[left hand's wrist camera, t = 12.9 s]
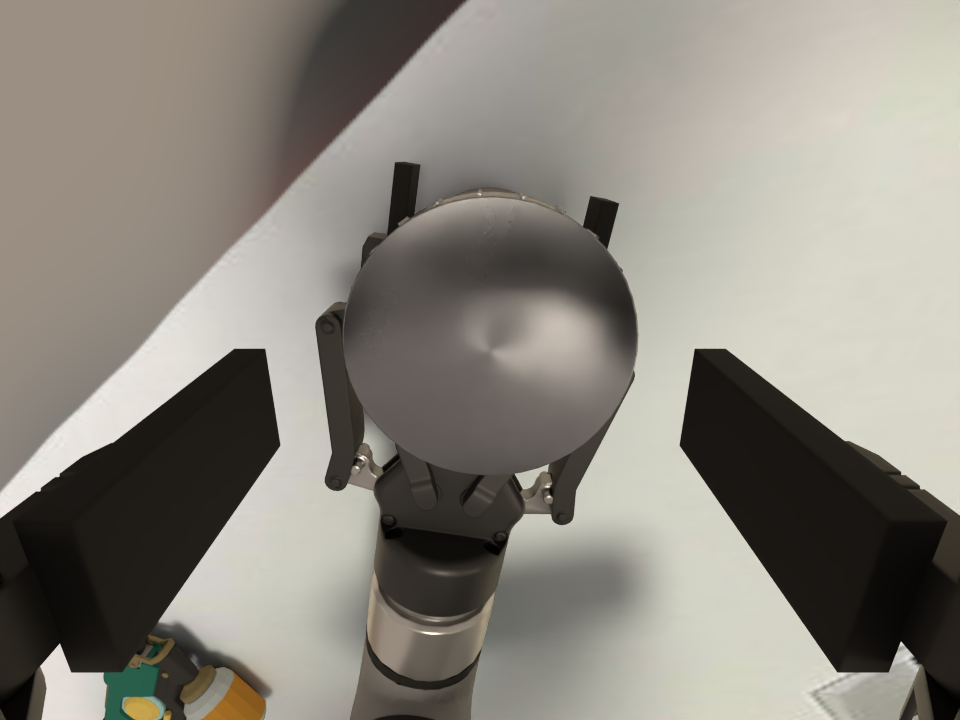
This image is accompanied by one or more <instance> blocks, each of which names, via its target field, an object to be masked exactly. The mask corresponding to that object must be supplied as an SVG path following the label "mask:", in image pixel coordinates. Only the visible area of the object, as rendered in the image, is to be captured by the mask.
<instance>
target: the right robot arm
mask: <svg viewBox="0 0 960 720" xmlns="http://www.w3.org/2000/svg"><path fill="white" fill-rule="evenodd" d="M419 171H420V165H419V164H413V163H408V162H395V167H394V177H393V186H392V196H391V205H390V214H389V224H388V233H387V235H386V234H380V233H373V234H371V235H370V236H368V238H367V240H366V242H365V244H364V246H363V250H362V261H361V269H362V267H363V265H364V264H365V262H366V260H367V259H368V257H369V256H370V254H369V253H370V251H372V250H373V249H374V248H375V247H377V246H378V245H379V244H380V243H381V242H382V241H383V240H384V239H385V238H386V237H387V236H388V235H390V234H391V233H392V232H393V231H394V230H395V229H396V228H397V227H399V225H398V223H399V222H401V221H402V220H403V219H405V218H406V217H407V216H408V217H409V218H411V217H412V216H414V212H415V203H416V195H417V187H418V179H419ZM618 206H619V203H616V202H613V201H611V200H608V199H604V198H598V197H593V196H590V200H589V204H588V208H587V212H586V216H585V221H584V225H583V227H584V228H585V229H586V230H587V229H589V230H590V231H591V232H593V233H594V234H596V235H597V236H598V237H599V239H598V241H599V242H600V243H601V244H602V245H603V246H605V248H606V249H607V248H608V244H609V241H610V237H611V233H612V229H613V225H614V221H615V217H616V214H617V210H618ZM346 305H347V303H344V302H336V303H334V304H333V305H332V306H331V307H329V308H328V309H327V310H326V311H325V312H324V313H323V314H322V315H321V316H320V317H319V318H318V319H317V321H316V326H315V328H316V336H317V343H318V351H319V358H320V365H321V373H322V380H323V388H324V395H325V403H326V410H327V418H328V425H329V433H330V440H331V448H332V455H331V459H330V462H329V466H328V469H327V473H326V476H325V484H326V486H327V487H328V488H329V489H331V490H334V491H340V490H343V489H344V488H345V487H346V485H347V483H349V484H352V485H356V486H359V487H363V488H366V489H370V490H373V491H374V495H375V498H376V500H377V502H378V504H379V507H380V520H379V528H378V536H377V543H376V551H375V559H374V572H373V576H372V582H371V591H370V600H369V608H368V617H367V626H366V639H365V646H364V652H363V658H362V664H361V670H360V676H359V682H358V687H357V691H356V696H355V700H354V704H353V708H352V712H351V716H350V720H471V701H472V692H473V686H474V681H475V675H476V670H477V666H478V661H479V656H480V653H481V649H482V645H483V642H484V638H485V635H486V631H487V627H488V623H489V619H490V615H491V611H492V607H493V603H494V597H495V590H496V587H497V585H498V580H499V576H500V572H501V568H502V564H503V559H504V555H505V551H506V547H507V543H508V539H509V535H510V531H511V529H512V528H513V526H514V525H515V524H516V523H517V522H518V521H519V520H520V519H521V518H522V516H523V514H551V516H552V520H553V521H554V522H555V523H556V524H559V525H566V524H568V523H570V522H571V521H572V520H573V516H574V506H575V495H576V489H577V487H578V485H579V484H580V482H581V480H582V478H583V476H584V474H585V472H586V470H587V468H588V466H589V464H590V463H591V461H592V459H593V457H594V455H595V453H596V451H597V449H598V447H599V445H600V443H601V442H602V440H603V438H604V436H605V434H606V432H607V430H608V428H609V426H610V424H611V422H612V421H613V419H614V417H615V415H616V413H617V411H618V409H619V407H620V405H621V403H622V401H623V400H624V398H625V396H626V394H627V392H628V390H629V388H630V386H631V384H632V382H633V380H634V377H635V373H634V371H633V374H632V377H631V379H630V382H629V385H628V388H627V390H626V392H625V394H624V396H623V398H622V400H621V402H620V404H619V405H618V407H617V408H616V410H615V411H614V413H613V414H612V415H611V417H610V418H609V419H608V421H607V422H606V423H605V424H604V425H603V426H602V427H601V429H600V430H599V431H598V432H597V433H596V434H595V435H593V436H592V437H591V438H590V439H589V440H588V441H587V442H586V443H584V444H583V445H581V446H580V447H579V448H577V449H576V450H574V451H573V452H571V453H570V454H568V455H566V456H564V457H562V458H560V459H559V460H557V461H555V462H552V463H550V464H549V468H548V472H545V471H544V472H541V473H540V475H539V477H537V479H536V481H535V483H534V485H533V486H532V487H531V488H529V489H525V490H523V489H522V487H521V485H520V483H519V481H518V479H517V478H516V476H515V473H514V474H507V475H489V476H486V475H473V474H466V473H460V472H455V471H451V470H448V469H444V468H441V467H438V466H435V465H433V464H430V463H428V462H426V461H424V460H421V459H419V458H418V457H416V456H414V455H412V454H411V453H409V452H407V451H406V450H404V449H403V448H401V447H400V446H399V445H398V444H396V443H395V444H396V448H397V451H398V453H397V454H396V455H395V456H394V457H393V458H392V459H391V460H390V461H388V462H387V463H386V464H385V465H384V466H383V467H382V468H381V467H379V466H377V465H376V464H375V463H374V461H373V453H372V451H371V449H370V446H369V445H368V444H366V443H363V438H364V416H363V406H362V404H361V402H360V401H359V399H358V397H357V395H356V393H355V390H354V388H353V386H352V384H351V381H350V378H349V374H348V371H347V368H346V363H345V357H344V350H343V323H344V315H345V309H346Z"/></svg>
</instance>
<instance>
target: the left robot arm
mask: <svg viewBox="0 0 960 720" xmlns="http://www.w3.org/2000/svg"><path fill="white" fill-rule="evenodd" d="M279 447H280V440H279V434H278V427H277V421H276V415H275V408H274V402H273V396H272V389H271V383H270V376H269V370H268V364H267V357H266V351H265V349H234V350H232V351H231V352H230V353H229V354H227V355H226V356H225V357H223V358H222V359H221V360H219V361H218V362H217V363H216V364H214V365H213V366H212V367H210V368H209V369H208V370H207V371H205V372H204V373H203V374H201V375H200V376H199V377H198V378H196V379H195V380H194V381H192V382H191V383H190V384H189V385H187V386H186V387H185V388H183V389H182V390H181V391H180V392H178V393H177V394H176V395H174V396H173V397H172V398H170V399H169V400H168V401H167V402H165V403H164V404H163V405H161V406H160V407H159V408H158V409H156V410H155V411H154V412H152V413H151V414H150V415H149V416H147V417H146V418H145V419H143V420H142V421H141V422H140V423H138V424H137V425H136V426H134V427H133V428H132V429H131V430H129V431H128V432H127V433H125V434H124V435H123V436H121V437H120V438H119V439H118V440H116V441H115V442H114V443H110V444H108V445H106V446H104V447H102V448H100V449H98V450H96V451H94V452H92V453H90V454H88V455H86V456H83V457H82V458H80V459H79V460H78V461H76V462H75V463H74V464H72V465H71V466H70V467H68V468H67V469H66V470H64V471H63V472H62V473H60V476H59V477H55V478H54V479H52V480H51V481H50V482H48V483H47V484H46V485H44V486H43V487H42V488H41V491H40V492H35V493H34V494H32V495H31V496H30V497H28V498H27V499H26V500H24V501H23V502H22V503H20V504H19V505H18V506H16V507H15V508H14V509H12V510H11V511H10V512H8V513H7V514H6V515H4V516H3V517H2V518H0V720H41V719H42V713H43V707H44V700H45V694H46V683H45V677H44V675H43V672H42V670H41V668H40V666H41V664H42V663H43V662H44V661H45V660H46V659H47V657H48V656H49V655H50V654H51V653H52V652H53V651H54V649H55V648H56V647H57V646H58V645H59V644H60V645H61V647H62V650H63V652H64V655H65V657H66V660H67V662H68V665H69V667H70V670H71V672H123V671H124V670H125V668H126V667H127V665H128V664H129V662H130V661H131V660H132V658H133V657H134V655H135V654H136V652H137V651H138V649H139V648H140V647H141V645H142V644H143V642H144V641H145V639H146V638H147V637H148V635H149V634H150V632H151V631H152V629H153V628H154V626H155V625H156V624H157V622H158V621H159V619H160V618H161V616H162V615H163V614H164V612H165V611H166V609H167V608H168V606H169V605H170V603H171V602H172V601H173V599H174V598H175V596H176V595H177V593H178V592H179V591H180V589H181V588H182V586H183V585H184V583H185V582H186V580H187V579H188V578H189V576H190V575H191V573H192V572H193V570H194V569H195V568H196V566H197V565H198V563H199V562H200V560H201V559H202V557H203V556H204V555H205V553H206V552H207V550H208V549H209V547H210V546H211V545H212V543H213V542H214V540H215V539H216V537H217V536H218V534H219V533H220V532H221V530H222V529H223V527H224V526H225V524H226V523H227V521H228V520H229V519H230V517H231V516H232V514H233V513H234V511H235V510H236V509H237V507H238V506H239V504H240V503H241V501H242V500H243V498H244V497H245V496H246V494H247V493H248V491H249V490H250V488H251V487H252V486H253V484H254V483H255V481H256V480H257V478H258V477H259V475H260V474H261V473H262V471H263V470H264V468H265V467H266V465H267V464H268V463H269V461H270V460H271V458H272V457H273V455H274V454H275V452H276V451H277V450H278V448H279ZM680 447H681V448H682V450H683V451H684V452H685V454H686V455H687V457H688V458H689V460H690V461H691V463H692V464H693V465H694V467H695V468H696V470H697V471H698V473H699V474H700V475H701V477H702V478H703V480H704V481H705V483H706V484H707V486H708V487H709V488H710V490H711V491H712V493H713V494H714V496H715V497H716V498H717V500H718V501H719V503H720V504H721V506H722V507H723V509H724V510H725V511H726V513H727V514H728V516H729V517H730V519H731V520H732V521H733V523H734V524H735V526H736V527H737V529H738V530H739V532H740V533H741V534H742V536H743V537H744V539H745V540H746V542H747V543H748V545H749V546H750V547H751V549H752V550H753V552H754V553H755V555H756V556H757V557H758V559H759V560H760V562H761V563H762V565H763V566H764V568H765V569H766V570H767V572H768V573H769V575H770V576H771V578H772V579H773V580H774V582H775V583H776V585H777V586H778V588H779V589H780V591H781V592H782V593H783V595H784V596H785V598H786V599H787V601H788V602H789V603H790V605H791V606H792V608H793V609H794V611H795V612H796V614H797V615H798V616H799V618H800V619H801V621H802V622H803V624H804V625H805V626H806V628H807V629H808V631H809V632H810V634H811V635H812V637H813V638H814V639H815V641H816V642H817V644H818V645H819V647H820V648H821V649H822V651H823V652H824V654H825V655H826V657H827V658H828V660H829V661H830V662H831V664H832V665H833V667H834V668H835V670H836V671H837V672H889V670H890V667H891V665H892V662H893V660H894V657H895V655H896V652H897V650H898V647H899V645H900V642H902V643H903V644H904V645H905V646H906V647H907V649H908V650H909V651H910V652H911V653H912V654H913V655H914V657H915V658H916V659H917V660H918V661H919V662H920V663H921V665H920V668H919V670H918V672H917V675H916V677H915V680H914V682H913V684H912V687H911V689H910V691H909V694H908V696H907V699H906V701H905V703H904V706H903V708H902V711H901V713H900V718H899V720H912V718H913V716H916V715H918V717H919V720H960V515H958V514H957V513H956V512H954V511H953V510H952V509H950V508H949V507H947V506H946V505H945V504H943V503H942V502H941V501H939V500H938V499H937V498H935V497H934V496H933V495H931V494H930V493H929V492H927V491H926V490H921V489H920V486H919V485H918V484H917V483H915V482H914V481H913V480H911V479H910V478H909V477H907V476H906V475H901V472H900V471H899V470H898V469H896V468H895V467H894V466H892V465H891V464H890V463H888V462H887V461H886V460H884V459H883V458H882V457H880V456H879V455H877V454H875V453H873V452H871V451H869V450H867V449H864V448H862V447H860V446H858V445H856V444H854V443H852V442H850V441H844V440H842V439H841V438H840V437H839V436H837V435H836V434H835V433H833V432H832V431H831V430H829V429H828V428H827V427H826V426H824V425H823V424H822V423H820V422H819V421H818V420H817V419H815V418H814V417H813V416H811V415H810V414H809V413H808V412H806V411H805V410H804V409H802V408H801V407H800V406H799V405H797V404H796V403H795V402H793V401H792V400H791V399H790V398H788V397H787V396H786V395H784V394H783V393H782V392H780V391H779V390H778V389H777V388H775V387H774V386H773V385H771V384H770V383H769V382H768V381H766V380H765V379H764V378H762V377H761V376H760V375H759V374H757V373H756V372H755V371H753V370H752V369H751V368H750V367H748V366H747V365H746V364H744V363H743V362H742V361H741V360H739V359H738V358H737V357H735V356H734V355H733V354H731V353H730V352H729V351H728V350H726V349H695V351H694V357H693V364H692V370H691V376H690V383H689V389H688V395H687V402H686V408H685V415H684V421H683V427H682V434H681V440H680Z"/></svg>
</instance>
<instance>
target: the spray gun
mask: <svg viewBox="0 0 960 720" xmlns="http://www.w3.org/2000/svg"><path fill="white" fill-rule="evenodd" d="M153 642H156V644H155V645H154V646H153ZM160 644H162V645H165V646H164V647H163V648H162V647H161V645H160ZM174 644H175V641H174V640H173V639H172V638H167V639H162V638H159V637H156V636H153V635H148V637H147V638H146V639H145V641H144V642H143V644H142V645H141V647H140V648H139V649H138V651H137V652H136V654H135V655H134V657H133V658H132V660H131V661H130V662H129V664H128V665H127V667H126V668H125V670H124V671H123V672H104V682H105V683H106V684H107V691H106V700H105V708H106V712H105V718H104V719H103V720H186V719H187V720H264V718H265V714H266V701H265V700H264V699H263V698H262V697H261V696H260V695H259V694H258V693H256V692H255V691H254V690H253V689H252V688H251V687H250V686H249V685H247V684H246V683H245V682H244V681H243V680H242V679H241V678H240V677H239V676H237V675H236V674H235V673H234V672H233V671H232V670H230V669H228V668H225V667H221V668H216V669H215V668H213V667H212V666H211V665H206V666H204V667H202V668H201V669H199V670H198V669H197V667H196V666H195V665H194V664H193V663H192V662H191V661H190V660H189V659H188V657H187V656H186V655H185V654H184V653H183V652H182V651H181V650H180V649H179V648H178V647H177V646H176V645H174ZM183 684H184V687H183V689H182V685H183Z"/></svg>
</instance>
